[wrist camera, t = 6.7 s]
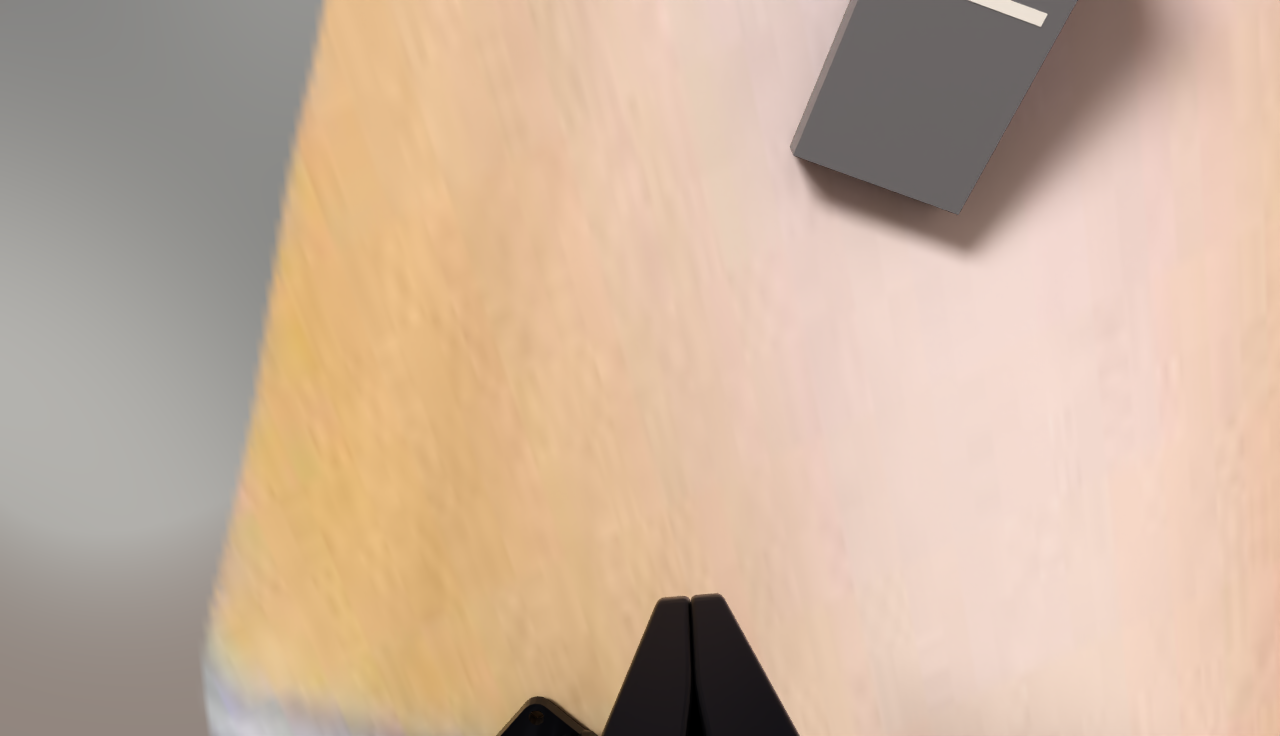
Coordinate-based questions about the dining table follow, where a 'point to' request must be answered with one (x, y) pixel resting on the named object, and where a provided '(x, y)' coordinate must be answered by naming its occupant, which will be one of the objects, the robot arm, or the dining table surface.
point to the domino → (925, 91)
